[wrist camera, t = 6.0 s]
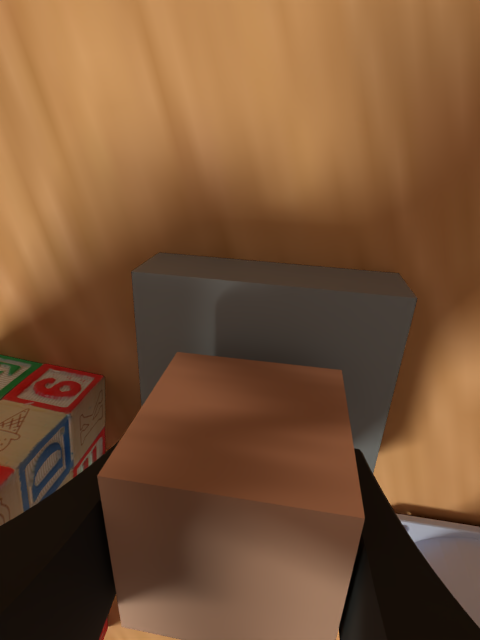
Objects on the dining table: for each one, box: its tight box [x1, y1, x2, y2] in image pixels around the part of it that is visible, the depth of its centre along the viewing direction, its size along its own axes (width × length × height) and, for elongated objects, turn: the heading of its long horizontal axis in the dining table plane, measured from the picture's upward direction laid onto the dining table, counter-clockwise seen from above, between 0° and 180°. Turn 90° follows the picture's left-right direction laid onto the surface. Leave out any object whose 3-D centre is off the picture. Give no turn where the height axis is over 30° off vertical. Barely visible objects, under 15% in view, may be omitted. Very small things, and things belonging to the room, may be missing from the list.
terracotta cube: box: [97, 352, 365, 640], centre depth 10 cm, size 5×5×5 cm
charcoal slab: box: [131, 253, 417, 473], centre depth 15 cm, size 9×9×3 cm
